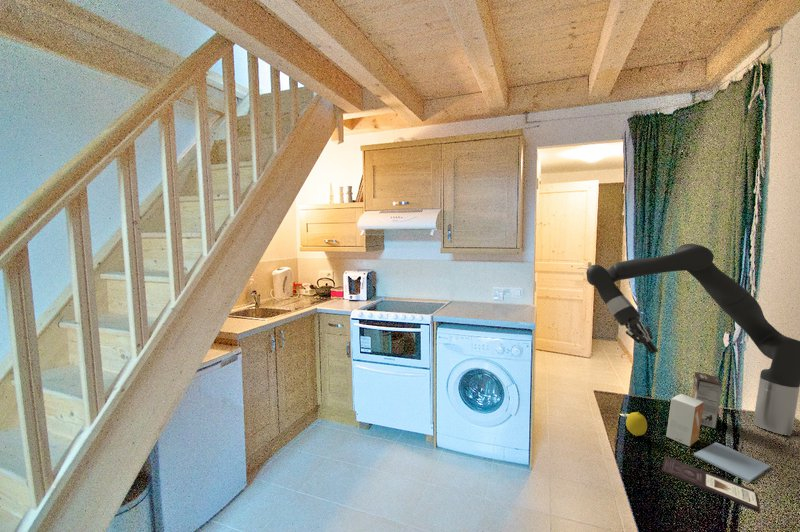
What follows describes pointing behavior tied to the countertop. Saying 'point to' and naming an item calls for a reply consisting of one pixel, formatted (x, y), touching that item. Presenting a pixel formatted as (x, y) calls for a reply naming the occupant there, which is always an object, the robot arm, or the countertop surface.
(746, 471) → the flat blue-gray panel
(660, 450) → the countertop surface
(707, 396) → the coffee box
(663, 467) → the chocolate bar
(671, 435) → the small box
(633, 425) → the lemon
